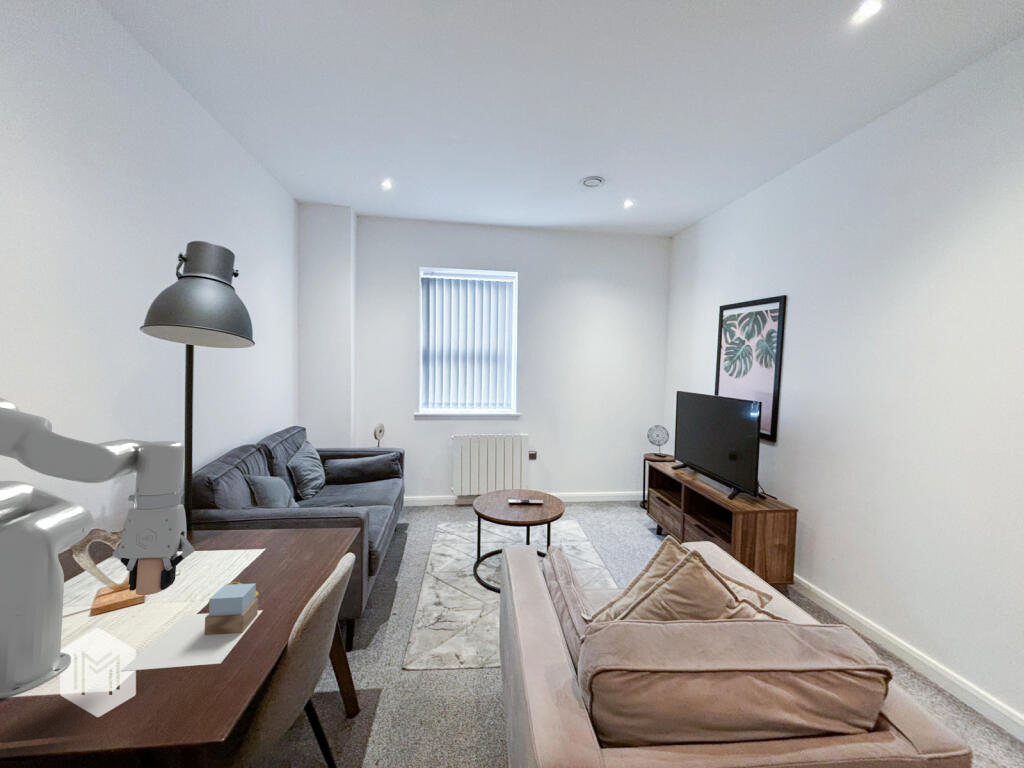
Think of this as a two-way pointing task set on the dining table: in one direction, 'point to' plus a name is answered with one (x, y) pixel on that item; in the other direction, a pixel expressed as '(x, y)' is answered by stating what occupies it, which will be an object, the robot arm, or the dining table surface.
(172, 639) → the mat
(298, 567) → the dining table surface
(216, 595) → the tower top
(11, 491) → the robot arm
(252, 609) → the tower base
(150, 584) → the cylinder
